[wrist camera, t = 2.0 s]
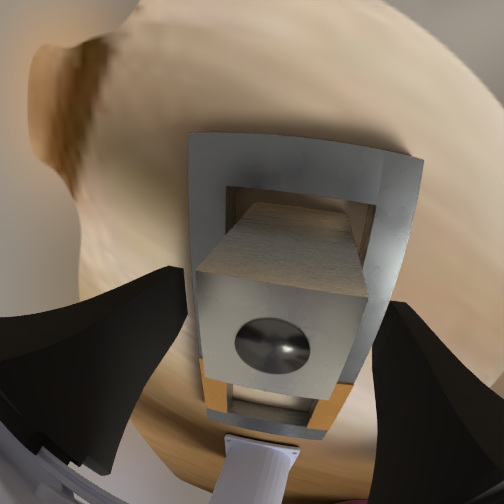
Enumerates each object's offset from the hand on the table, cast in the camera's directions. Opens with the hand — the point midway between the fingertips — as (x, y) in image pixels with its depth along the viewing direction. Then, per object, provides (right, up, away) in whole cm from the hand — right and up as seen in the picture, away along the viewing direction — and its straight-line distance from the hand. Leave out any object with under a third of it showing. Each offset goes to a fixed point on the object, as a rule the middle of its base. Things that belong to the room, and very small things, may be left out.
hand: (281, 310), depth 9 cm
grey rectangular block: (+1, +2, +5) cm, 5 cm away
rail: (+1, -3, +7) cm, 8 cm away
